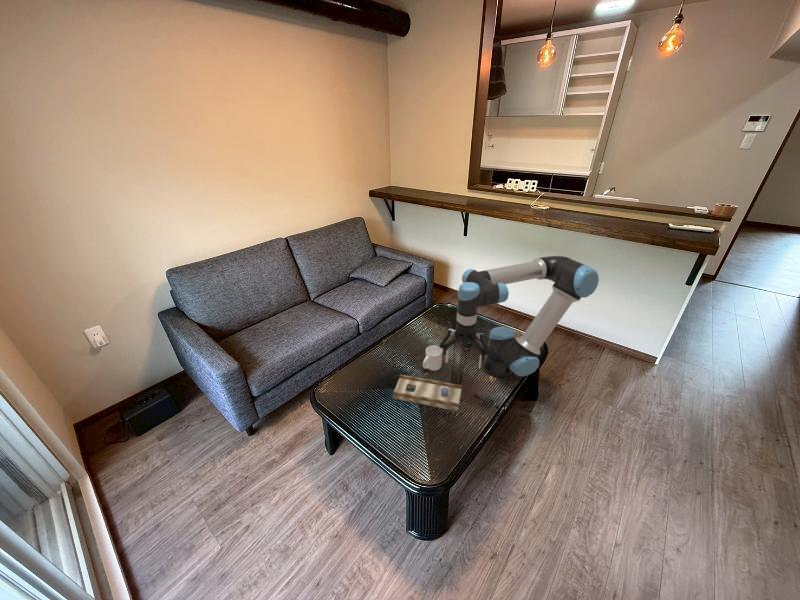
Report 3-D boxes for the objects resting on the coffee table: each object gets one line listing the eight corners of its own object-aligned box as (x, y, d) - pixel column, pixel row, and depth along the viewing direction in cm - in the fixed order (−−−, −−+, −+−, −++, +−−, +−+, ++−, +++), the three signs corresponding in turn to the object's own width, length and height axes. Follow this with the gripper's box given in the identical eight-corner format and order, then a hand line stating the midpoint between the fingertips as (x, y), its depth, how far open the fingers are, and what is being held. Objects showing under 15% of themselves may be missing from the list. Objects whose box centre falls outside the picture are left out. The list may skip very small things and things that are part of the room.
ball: (449, 392, 139) (449, 386, 138) (447, 397, 136) (448, 392, 135) (441, 390, 140) (441, 385, 139) (440, 396, 137) (440, 390, 136)
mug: (428, 377, 152) (429, 361, 147) (417, 369, 157) (417, 353, 152) (444, 366, 159) (445, 350, 154) (433, 358, 164) (433, 343, 159)
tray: (461, 391, 143) (461, 385, 141) (458, 411, 133) (458, 404, 131) (400, 380, 151) (399, 374, 149) (393, 398, 141) (392, 392, 139)
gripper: (500, 320, 117) (494, 362, 127) (436, 312, 124) (435, 353, 134) (499, 330, 111) (493, 374, 121) (432, 322, 118) (432, 364, 128)
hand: (463, 363), depth 128 cm, fingers open, 13 cm apart
